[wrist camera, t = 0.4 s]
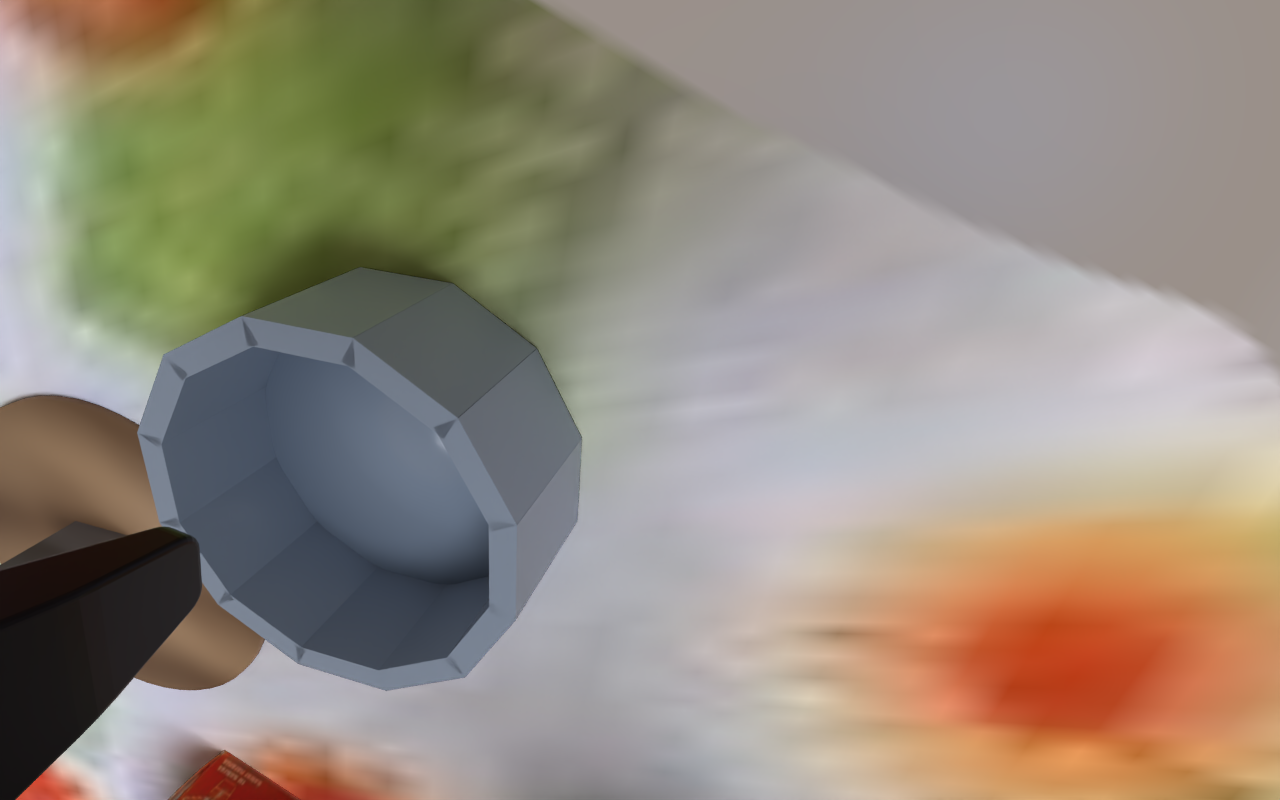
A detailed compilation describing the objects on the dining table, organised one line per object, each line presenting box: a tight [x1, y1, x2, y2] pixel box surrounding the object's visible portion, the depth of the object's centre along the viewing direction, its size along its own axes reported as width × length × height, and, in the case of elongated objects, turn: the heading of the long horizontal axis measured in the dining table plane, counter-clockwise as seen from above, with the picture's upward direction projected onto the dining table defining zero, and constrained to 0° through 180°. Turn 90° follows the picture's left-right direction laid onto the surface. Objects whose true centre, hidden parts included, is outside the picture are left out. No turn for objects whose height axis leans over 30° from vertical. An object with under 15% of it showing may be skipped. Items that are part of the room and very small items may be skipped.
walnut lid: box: [0, 396, 265, 690], centre depth 31 cm, size 15×15×4 cm
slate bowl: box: [137, 267, 582, 691], centre depth 23 cm, size 12×12×5 cm
